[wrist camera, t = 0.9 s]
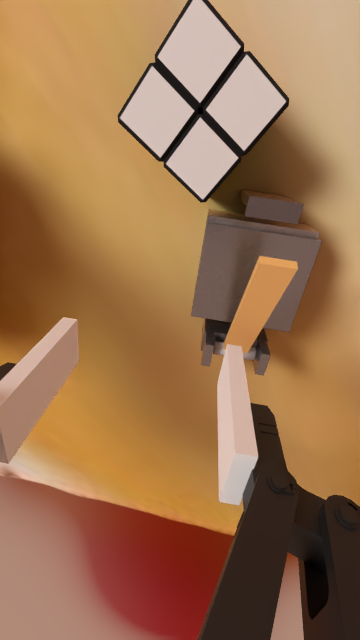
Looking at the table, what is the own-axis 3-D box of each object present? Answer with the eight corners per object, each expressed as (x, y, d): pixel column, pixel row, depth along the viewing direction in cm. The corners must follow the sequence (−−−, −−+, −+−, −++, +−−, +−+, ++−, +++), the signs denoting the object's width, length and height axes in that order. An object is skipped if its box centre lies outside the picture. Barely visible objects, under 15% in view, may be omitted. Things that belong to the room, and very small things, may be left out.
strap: (213, 344, 38) (212, 356, 37) (247, 250, 24) (246, 264, 23) (252, 351, 38) (252, 362, 37) (309, 260, 23) (311, 275, 23)
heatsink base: (189, 326, 44) (183, 361, 36) (212, 185, 35) (212, 191, 27) (269, 339, 43) (281, 378, 35) (314, 200, 34) (345, 211, 26)
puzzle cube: (201, 39, 29) (196, -17, 20) (271, 118, 31) (293, 100, 22) (140, 131, 33) (113, 119, 24) (206, 195, 35) (203, 205, 26)
